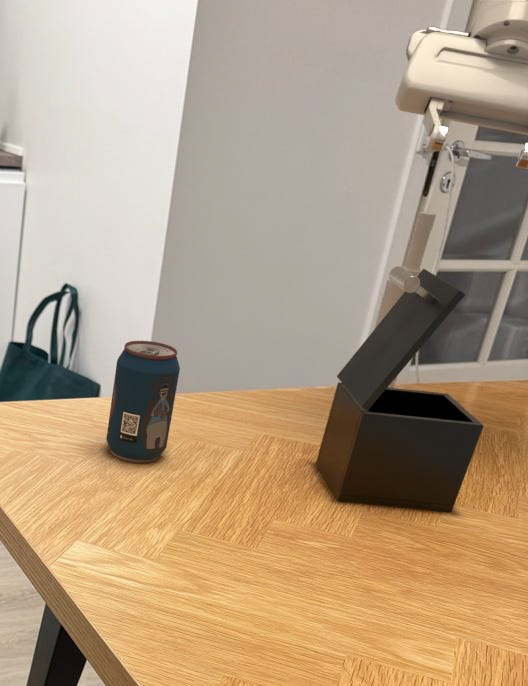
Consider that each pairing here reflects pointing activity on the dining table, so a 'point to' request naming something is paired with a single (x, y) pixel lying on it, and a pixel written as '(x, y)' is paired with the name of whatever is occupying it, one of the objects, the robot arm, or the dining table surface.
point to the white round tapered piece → (408, 265)
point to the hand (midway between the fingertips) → (479, 155)
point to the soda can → (142, 401)
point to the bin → (398, 449)
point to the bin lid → (399, 334)
